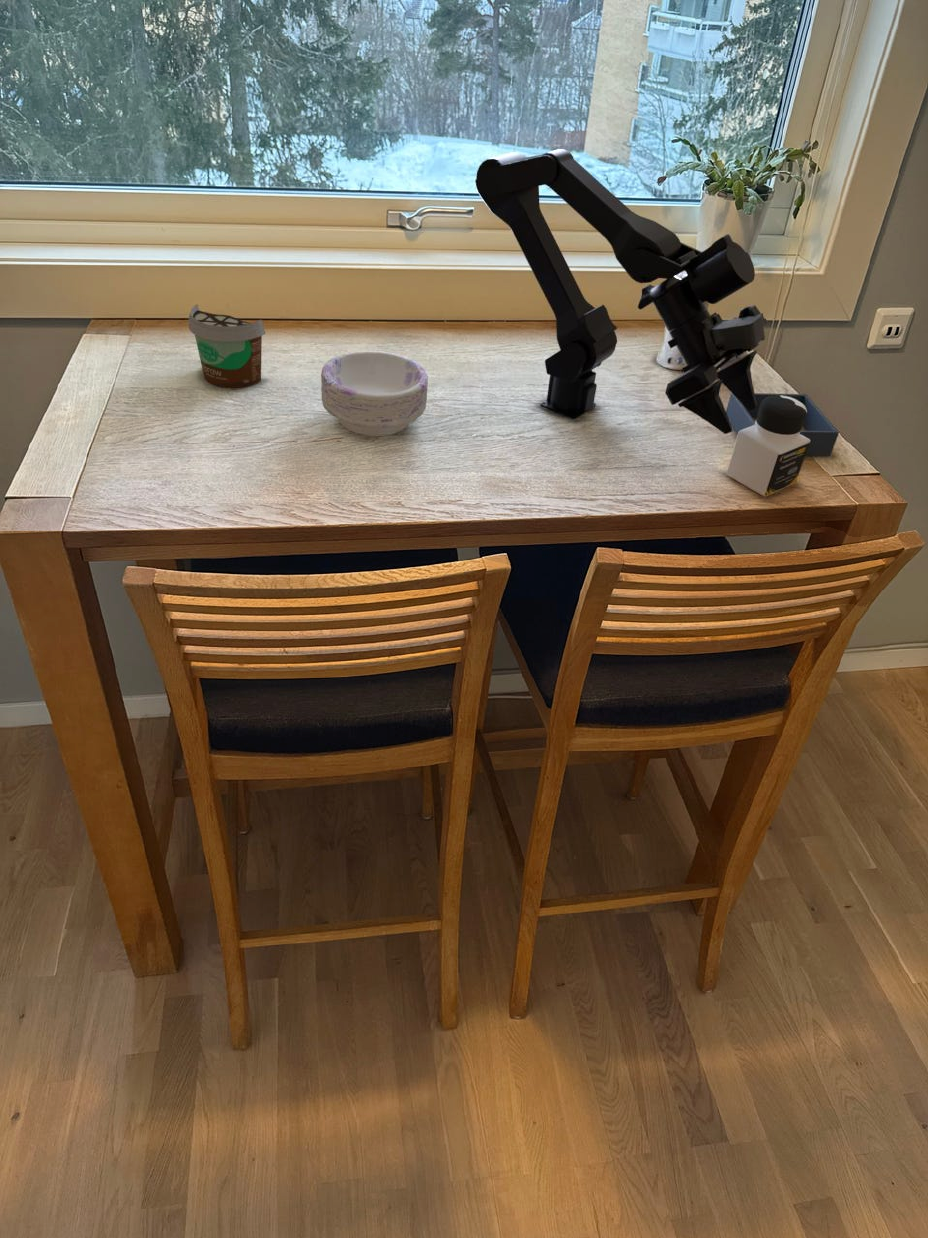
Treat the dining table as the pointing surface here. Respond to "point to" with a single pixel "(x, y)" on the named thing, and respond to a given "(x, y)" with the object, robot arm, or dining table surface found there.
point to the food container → (227, 348)
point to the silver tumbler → (672, 355)
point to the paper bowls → (374, 391)
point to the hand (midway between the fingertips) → (741, 420)
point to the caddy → (814, 423)
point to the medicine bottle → (771, 447)
